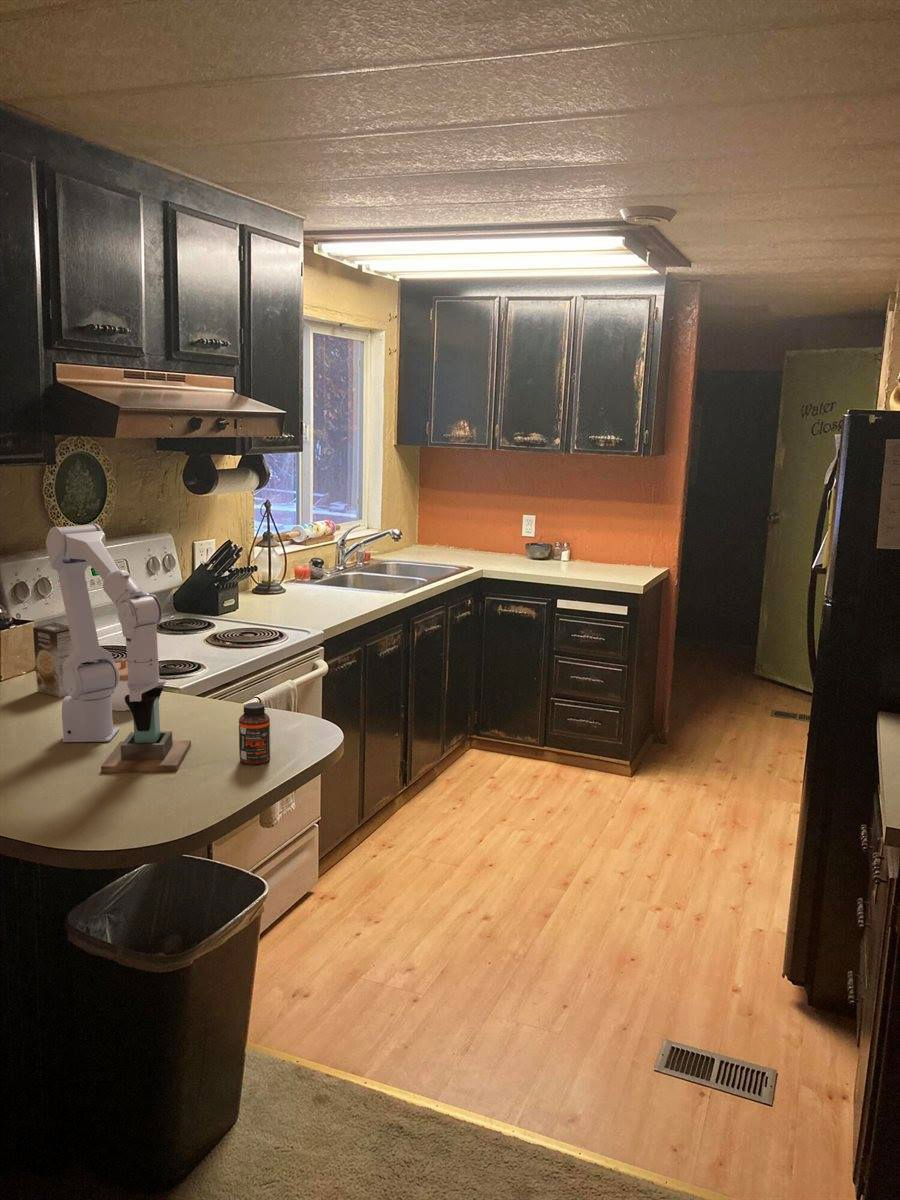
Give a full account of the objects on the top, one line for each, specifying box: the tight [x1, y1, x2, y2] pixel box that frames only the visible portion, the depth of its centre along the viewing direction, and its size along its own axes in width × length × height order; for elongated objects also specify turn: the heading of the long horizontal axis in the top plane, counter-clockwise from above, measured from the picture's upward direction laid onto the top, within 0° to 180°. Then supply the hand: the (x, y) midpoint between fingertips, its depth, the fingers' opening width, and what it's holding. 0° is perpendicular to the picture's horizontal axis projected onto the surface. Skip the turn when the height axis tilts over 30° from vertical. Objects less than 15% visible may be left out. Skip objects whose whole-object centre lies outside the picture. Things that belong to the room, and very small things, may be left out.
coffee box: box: [32, 622, 74, 698], centre depth 231 cm, size 9×6×16 cm
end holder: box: [100, 730, 192, 773], centre depth 188 cm, size 14×14×4 cm
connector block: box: [132, 697, 161, 743], centre depth 186 cm, size 4×4×8 cm
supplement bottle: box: [238, 701, 271, 766], centre depth 187 cm, size 6×6×11 cm
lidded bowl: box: [111, 658, 131, 712], centre depth 220 cm, size 13×13×11 cm
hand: (146, 726), depth 187 cm, fingers closed on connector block, 4 cm apart
